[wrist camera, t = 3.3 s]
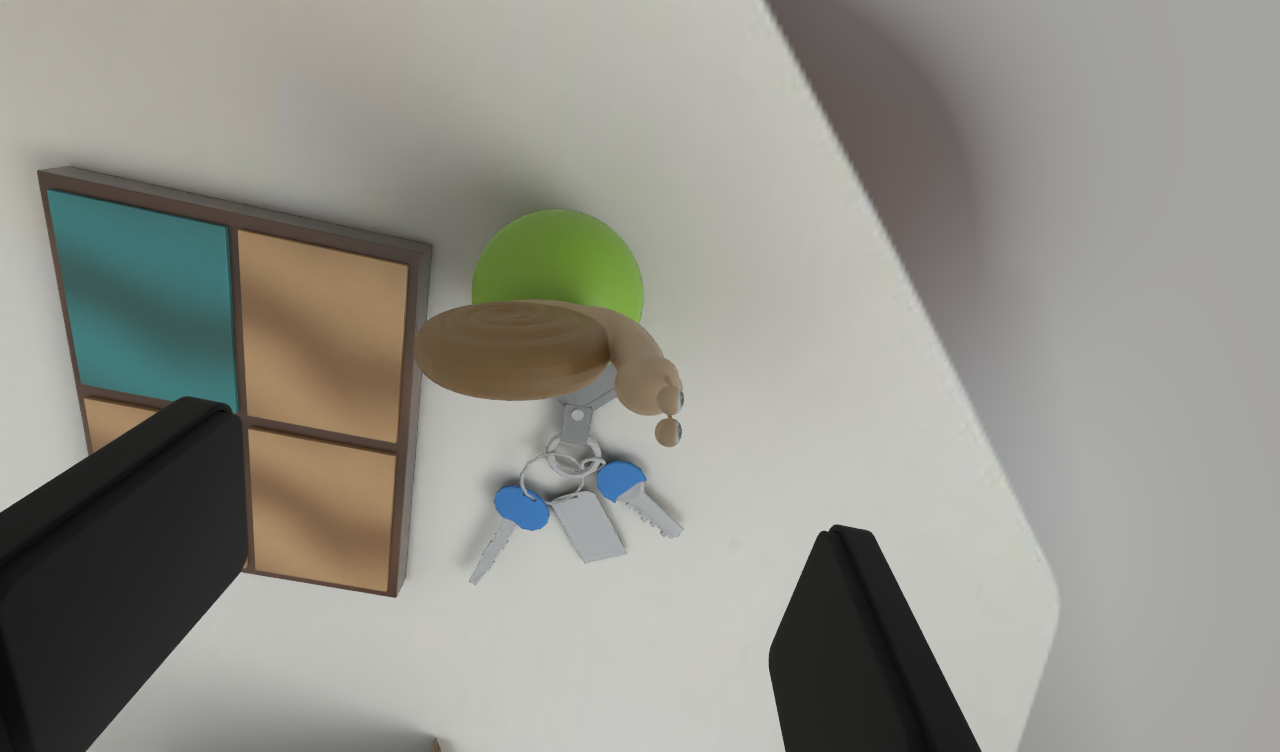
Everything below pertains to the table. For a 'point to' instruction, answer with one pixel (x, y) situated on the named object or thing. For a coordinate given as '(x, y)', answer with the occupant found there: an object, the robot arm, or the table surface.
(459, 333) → the snail figurine
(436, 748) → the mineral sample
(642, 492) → the key chain
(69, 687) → the robot arm
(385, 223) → the table surface
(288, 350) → the game board
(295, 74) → the table surface
